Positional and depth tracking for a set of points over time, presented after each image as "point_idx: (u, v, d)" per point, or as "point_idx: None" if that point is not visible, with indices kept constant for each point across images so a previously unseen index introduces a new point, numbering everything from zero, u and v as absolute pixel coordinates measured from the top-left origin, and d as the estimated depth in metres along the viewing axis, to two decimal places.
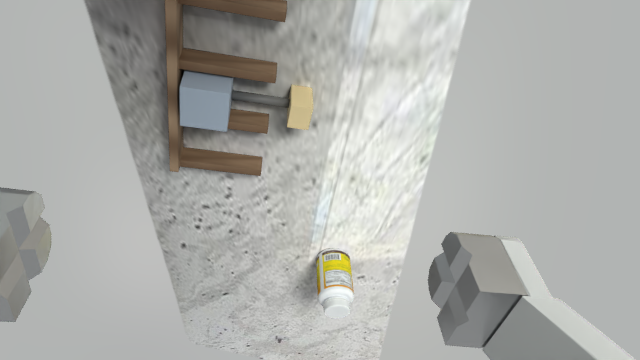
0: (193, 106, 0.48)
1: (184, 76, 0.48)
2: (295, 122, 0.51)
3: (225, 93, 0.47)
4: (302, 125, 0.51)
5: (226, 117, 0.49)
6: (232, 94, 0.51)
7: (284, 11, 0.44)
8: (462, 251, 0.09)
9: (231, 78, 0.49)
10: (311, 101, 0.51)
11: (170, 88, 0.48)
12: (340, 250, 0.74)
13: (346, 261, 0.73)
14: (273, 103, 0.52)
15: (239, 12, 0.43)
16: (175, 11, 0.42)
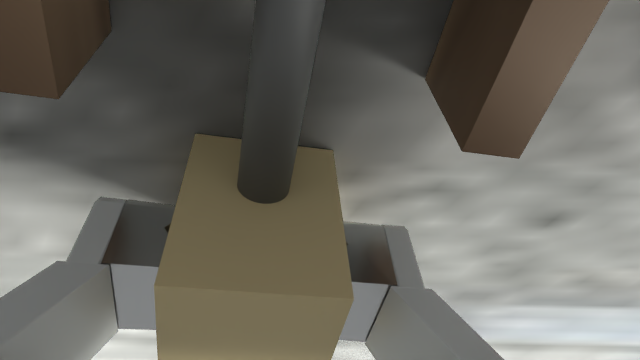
0: None
1: None
2: (208, 321, 0.07)
3: None
4: (190, 350, 0.08)
5: None
6: None
7: None
8: None
9: None
10: None
11: None
12: None
13: None
14: (274, 121, 0.07)
15: None
16: None
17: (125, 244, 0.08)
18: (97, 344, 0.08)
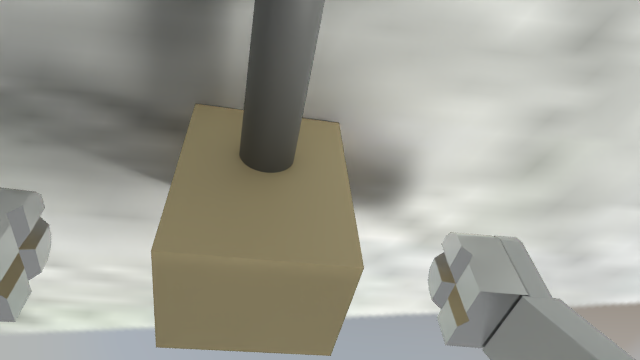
0: None
1: None
2: (208, 292, 0.07)
3: None
4: (189, 324, 0.07)
5: None
6: None
7: None
8: (462, 251, 0.09)
9: None
10: None
11: None
12: None
13: None
14: (279, 80, 0.07)
15: None
16: None
17: None
18: None
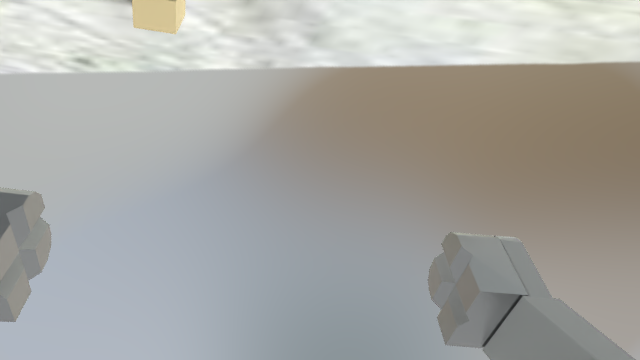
0: None
1: None
2: (144, 7, 0.33)
3: None
4: (140, 18, 0.33)
5: None
6: None
7: None
8: (462, 251, 0.09)
9: None
10: (179, 25, 0.35)
11: None
12: None
13: None
14: None
15: None
16: None
17: None
18: None
